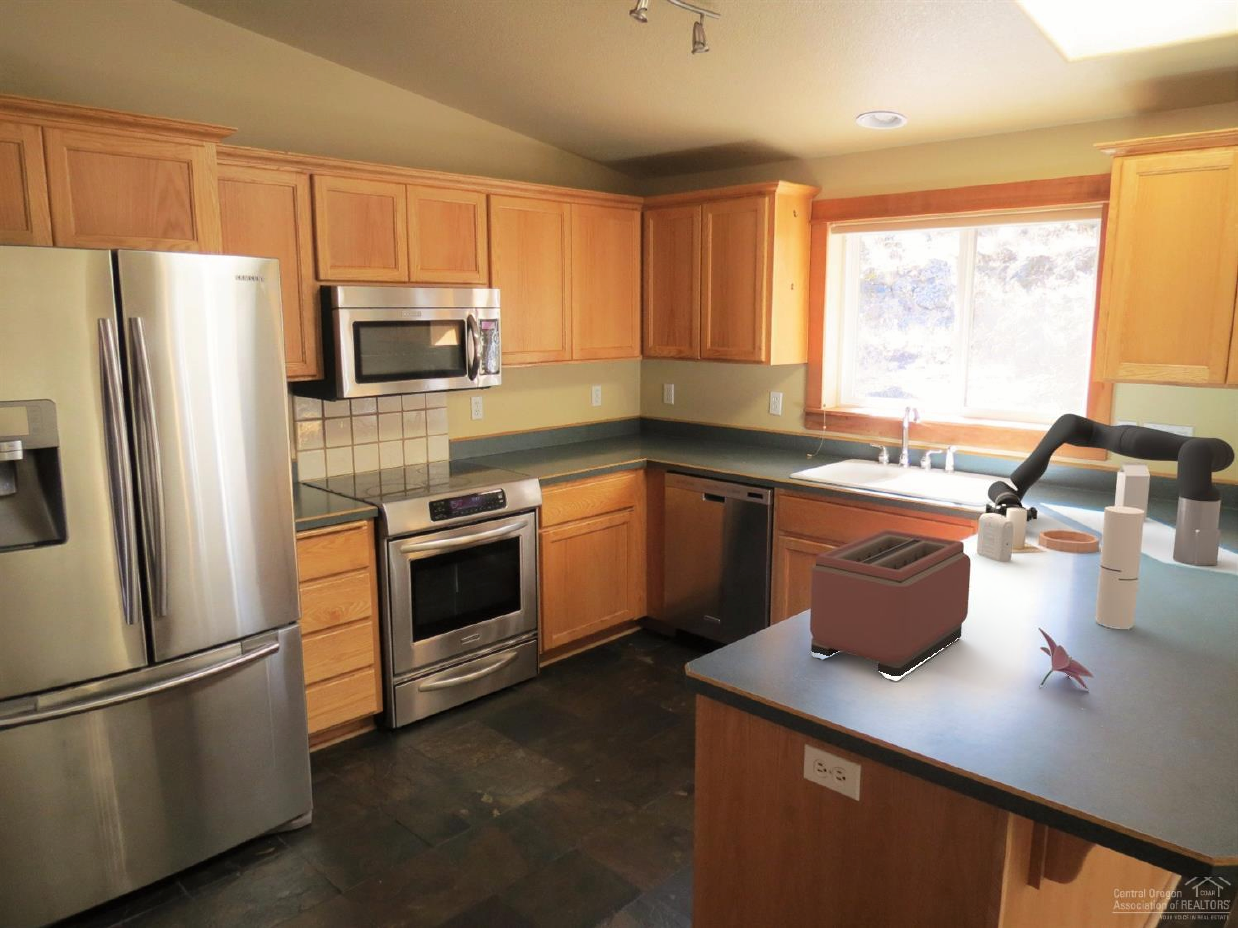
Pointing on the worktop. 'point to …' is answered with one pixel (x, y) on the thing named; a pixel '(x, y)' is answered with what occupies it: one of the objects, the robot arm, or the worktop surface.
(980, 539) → the photo printer
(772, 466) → the worktop surface
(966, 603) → the toaster
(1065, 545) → the bowl
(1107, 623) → the cylindrical container
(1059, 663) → the lily
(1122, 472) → the milk carton
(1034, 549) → the cork mat
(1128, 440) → the robot arm
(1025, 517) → the pillar candle
